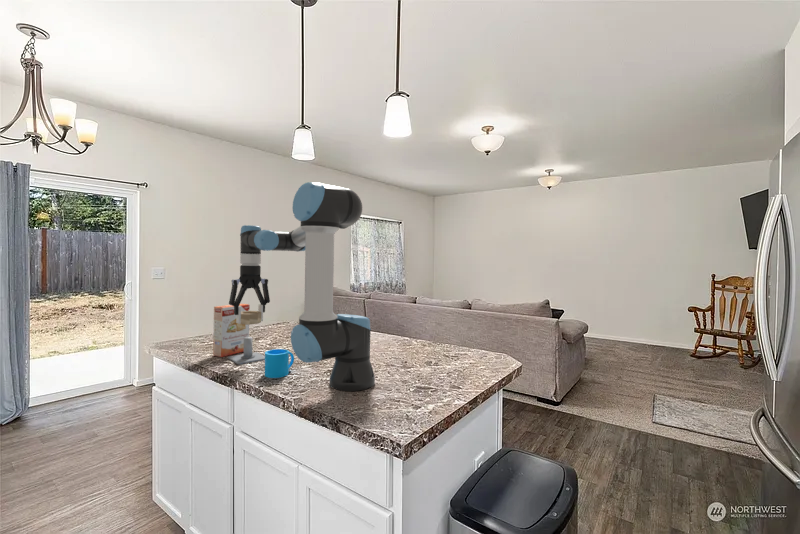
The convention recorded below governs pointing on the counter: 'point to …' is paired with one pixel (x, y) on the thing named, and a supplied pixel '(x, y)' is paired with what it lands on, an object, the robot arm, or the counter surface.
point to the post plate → (242, 361)
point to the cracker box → (228, 331)
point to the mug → (277, 363)
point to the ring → (250, 317)
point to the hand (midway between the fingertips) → (249, 321)
